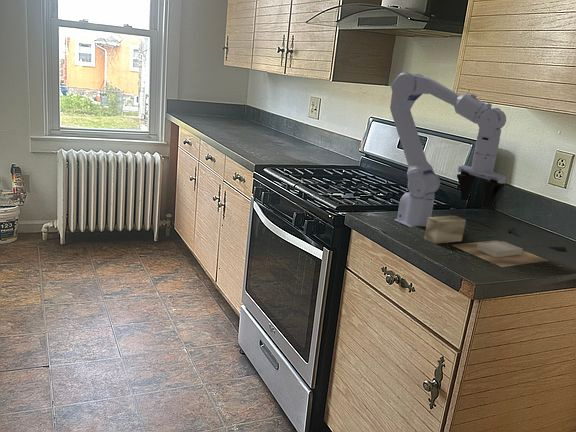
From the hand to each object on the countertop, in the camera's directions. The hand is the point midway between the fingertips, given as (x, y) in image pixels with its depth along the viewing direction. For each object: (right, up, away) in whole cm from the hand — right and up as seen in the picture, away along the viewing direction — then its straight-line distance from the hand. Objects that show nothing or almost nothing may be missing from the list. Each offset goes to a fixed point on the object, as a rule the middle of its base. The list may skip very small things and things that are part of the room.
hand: (475, 203), depth 149 cm
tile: (+1, -11, -7) cm, 13 cm away
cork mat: (+3, -14, -9) cm, 17 cm away
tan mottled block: (-10, -11, -4) cm, 15 cm away
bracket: (+17, -12, +7) cm, 22 cm away
